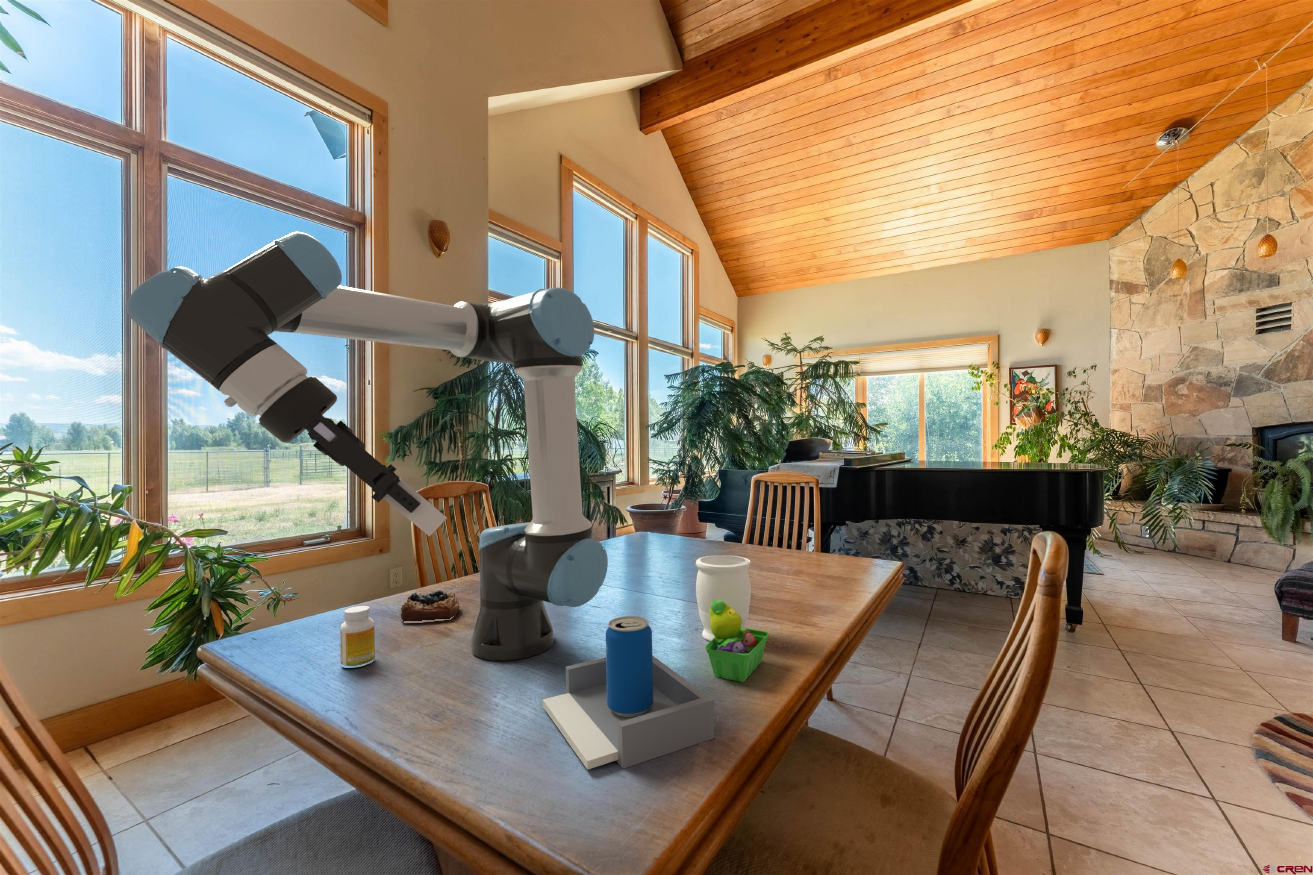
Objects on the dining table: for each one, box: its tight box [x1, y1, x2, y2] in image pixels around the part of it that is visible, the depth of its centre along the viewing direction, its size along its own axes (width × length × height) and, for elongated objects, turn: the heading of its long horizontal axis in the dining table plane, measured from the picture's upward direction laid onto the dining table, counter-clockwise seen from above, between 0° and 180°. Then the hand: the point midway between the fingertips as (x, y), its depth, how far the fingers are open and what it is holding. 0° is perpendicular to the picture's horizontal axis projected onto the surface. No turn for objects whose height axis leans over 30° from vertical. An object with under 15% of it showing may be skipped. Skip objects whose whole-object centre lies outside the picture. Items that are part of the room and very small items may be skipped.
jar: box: [695, 554, 752, 642], centre depth 108 cm, size 11×10×15 cm
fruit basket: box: [705, 600, 770, 683], centre depth 93 cm, size 11×9×11 cm
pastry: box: [400, 590, 460, 621], centre depth 124 cm, size 11×12×6 cm
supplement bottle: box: [339, 605, 376, 666], centre depth 98 cm, size 5×5×10 cm
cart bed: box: [542, 655, 715, 770], centre depth 77 cm, size 20×17×5 cm
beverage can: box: [605, 615, 653, 717], centre depth 77 cm, size 6×6×12 cm
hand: (431, 519), depth 69 cm, fingers open, 13 cm apart
